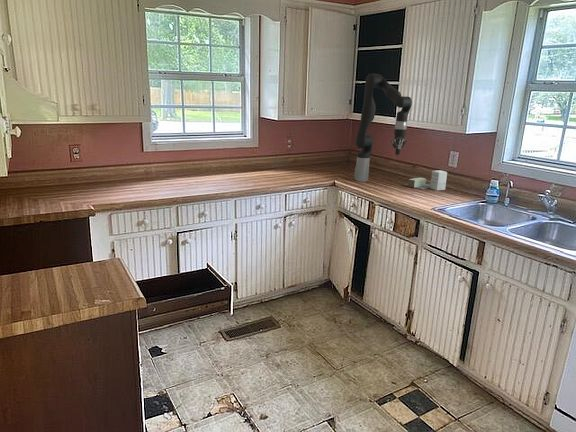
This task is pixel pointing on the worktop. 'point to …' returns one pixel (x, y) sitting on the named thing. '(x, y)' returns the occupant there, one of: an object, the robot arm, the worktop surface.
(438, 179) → the supplement box
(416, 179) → the block
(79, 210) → the worktop surface
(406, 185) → the mat
